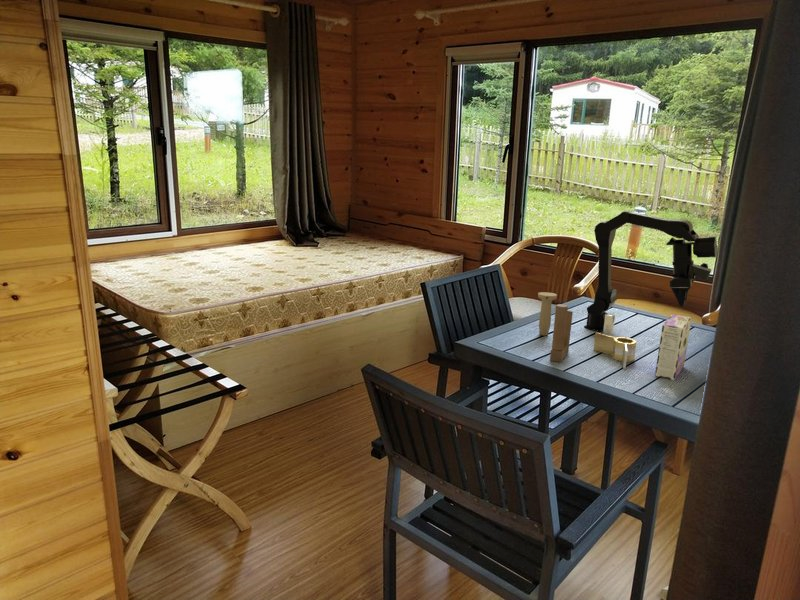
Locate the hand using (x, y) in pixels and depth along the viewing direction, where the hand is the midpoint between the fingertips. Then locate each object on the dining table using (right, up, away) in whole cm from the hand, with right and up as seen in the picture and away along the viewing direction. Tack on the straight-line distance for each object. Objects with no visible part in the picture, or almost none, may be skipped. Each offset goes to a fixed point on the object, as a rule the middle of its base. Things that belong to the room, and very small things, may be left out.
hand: (683, 303), depth 204 cm
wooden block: (-45, -17, -10) cm, 49 cm away
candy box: (-14, -21, -20) cm, 32 cm away
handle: (-45, -11, +11) cm, 47 cm away
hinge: (-28, -18, -11) cm, 35 cm away
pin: (-25, -14, +4) cm, 28 cm away
